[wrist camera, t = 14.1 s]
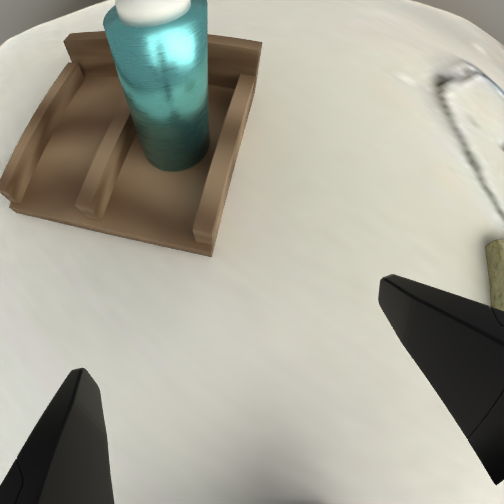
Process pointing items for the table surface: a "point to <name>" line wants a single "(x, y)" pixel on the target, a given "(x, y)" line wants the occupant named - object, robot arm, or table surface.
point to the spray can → (164, 76)
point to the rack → (128, 152)
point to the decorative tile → (496, 272)
